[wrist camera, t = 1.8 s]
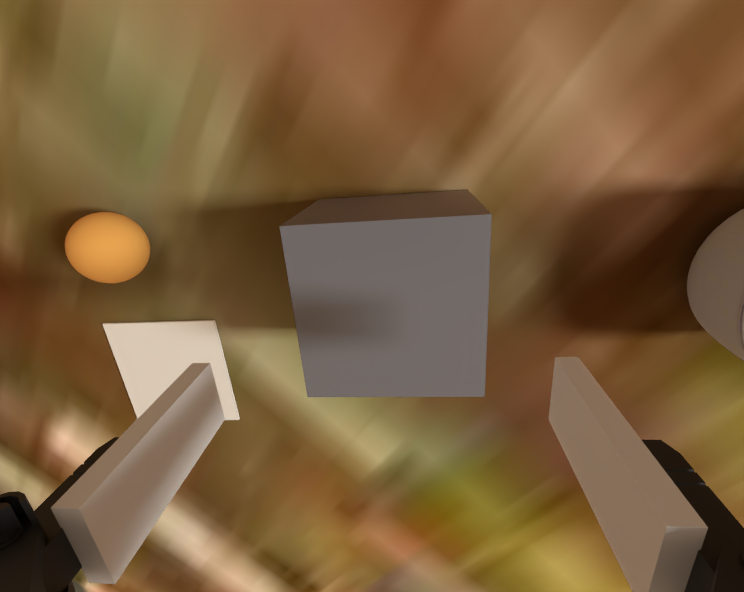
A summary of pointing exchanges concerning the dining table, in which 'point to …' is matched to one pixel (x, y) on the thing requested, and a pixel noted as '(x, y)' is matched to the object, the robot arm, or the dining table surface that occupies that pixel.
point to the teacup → (720, 284)
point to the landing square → (167, 358)
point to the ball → (107, 247)
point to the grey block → (391, 294)
